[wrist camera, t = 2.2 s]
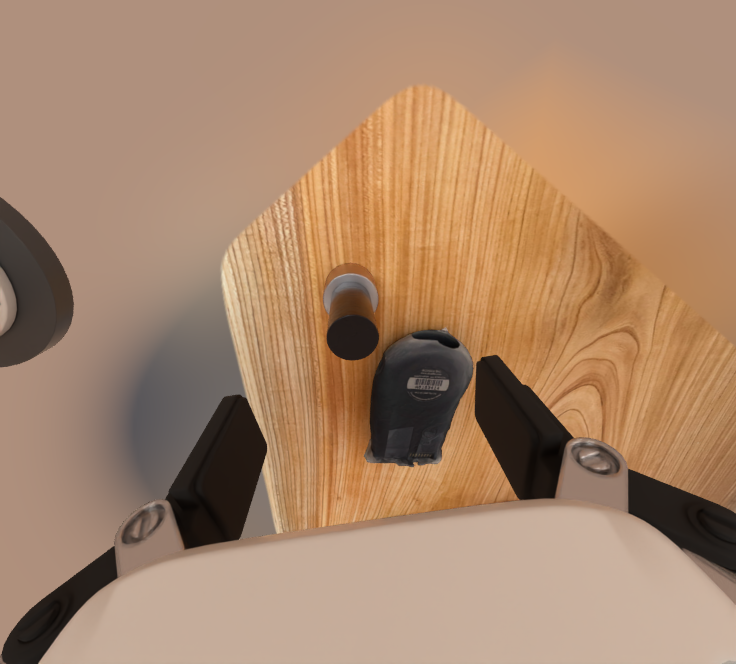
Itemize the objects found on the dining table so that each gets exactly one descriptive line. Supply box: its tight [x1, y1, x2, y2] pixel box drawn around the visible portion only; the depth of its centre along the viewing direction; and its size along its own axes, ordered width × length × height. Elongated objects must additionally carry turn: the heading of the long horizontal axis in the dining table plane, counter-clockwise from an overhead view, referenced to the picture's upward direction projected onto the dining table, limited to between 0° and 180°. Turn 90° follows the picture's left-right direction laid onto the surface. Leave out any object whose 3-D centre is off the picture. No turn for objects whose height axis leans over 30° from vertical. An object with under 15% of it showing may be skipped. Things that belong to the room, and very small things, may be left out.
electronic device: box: [364, 328, 473, 467], centre depth 29 cm, size 9×6×15 cm
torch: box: [323, 263, 379, 360], centre depth 20 cm, size 4×4×9 cm
